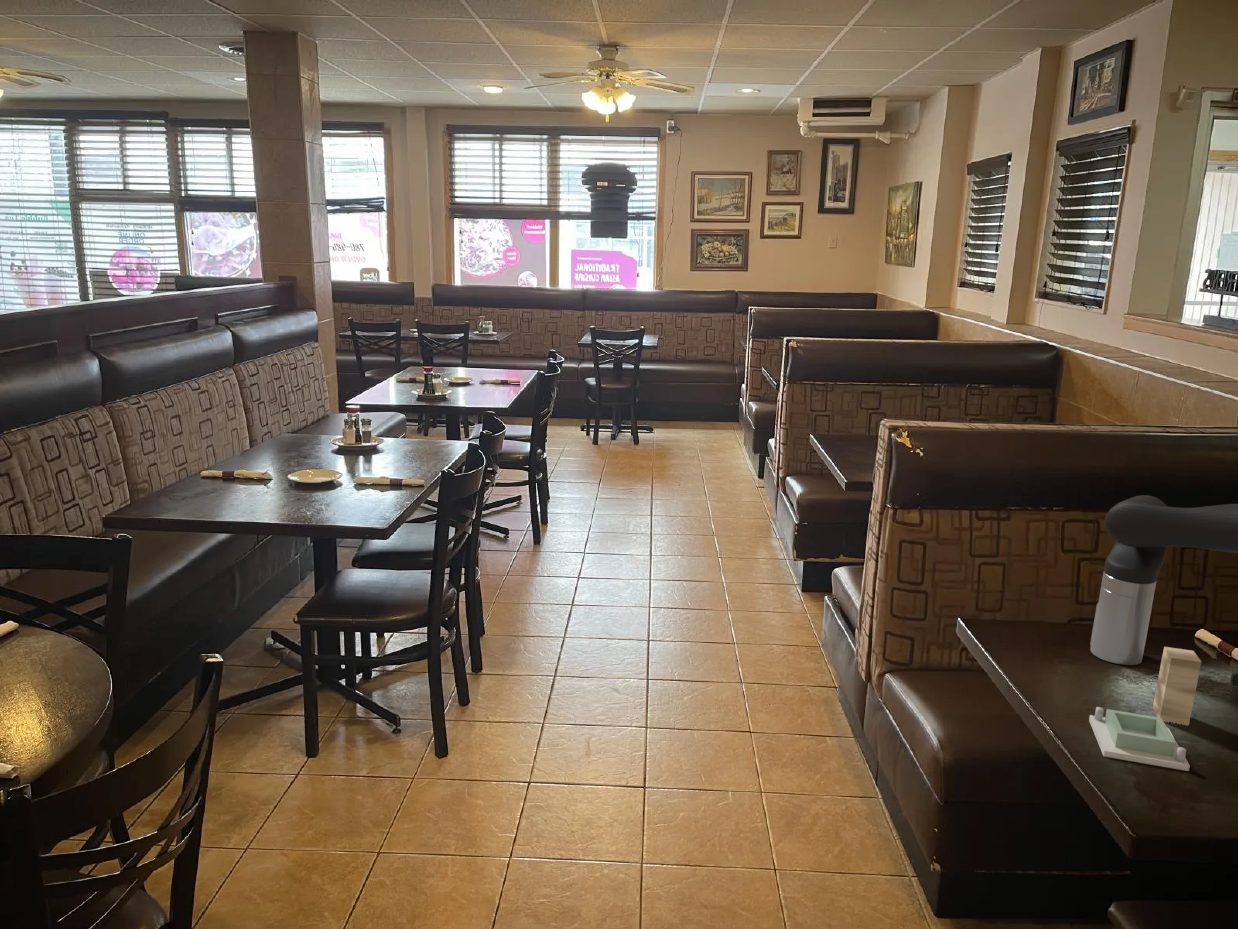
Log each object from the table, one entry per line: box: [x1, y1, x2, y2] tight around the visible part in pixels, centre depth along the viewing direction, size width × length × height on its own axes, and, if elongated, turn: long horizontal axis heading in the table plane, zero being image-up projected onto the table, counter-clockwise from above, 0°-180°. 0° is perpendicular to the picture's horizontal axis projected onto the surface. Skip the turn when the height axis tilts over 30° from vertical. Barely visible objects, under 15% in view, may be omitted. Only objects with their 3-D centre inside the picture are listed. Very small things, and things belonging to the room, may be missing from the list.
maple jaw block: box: [1152, 646, 1202, 726], centre depth 153 cm, size 4×4×12 cm
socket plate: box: [1088, 706, 1191, 772], centre depth 144 cm, size 12×12×4 cm
